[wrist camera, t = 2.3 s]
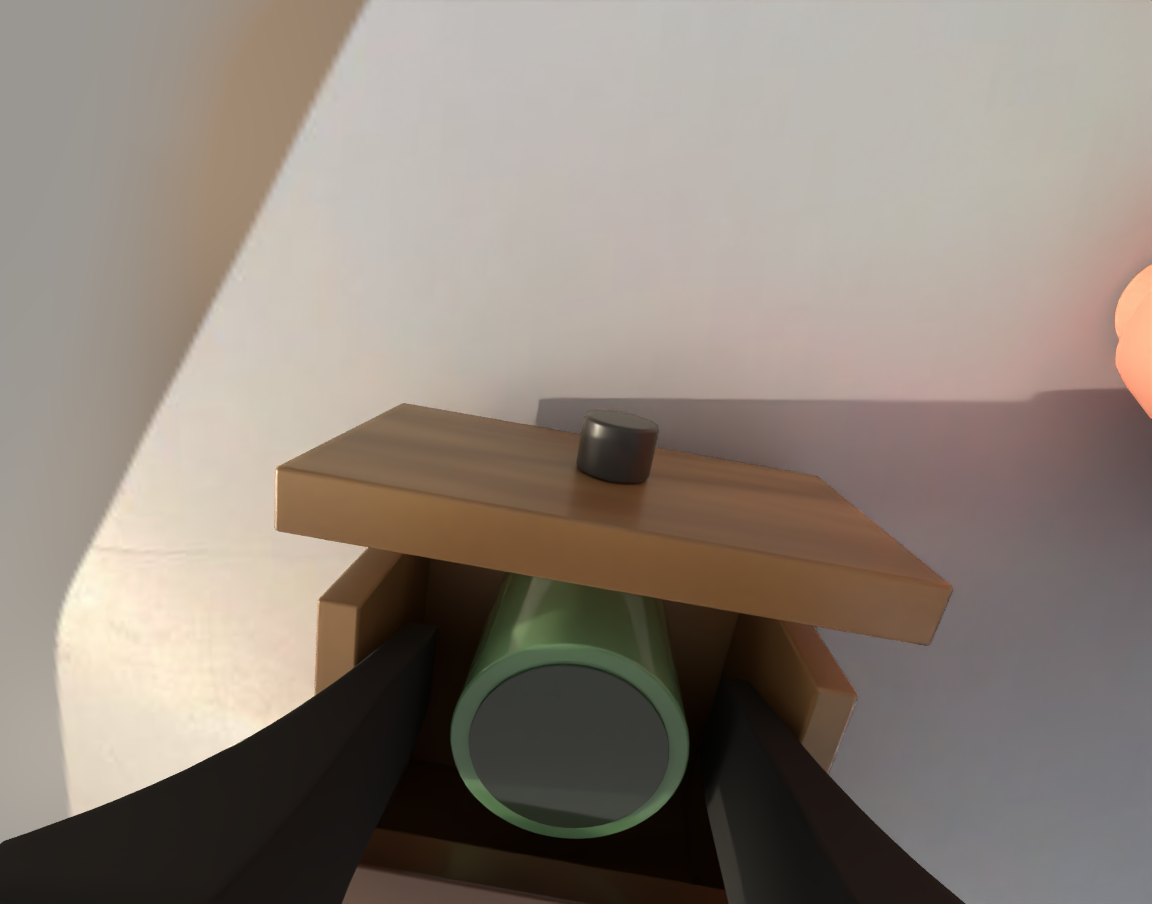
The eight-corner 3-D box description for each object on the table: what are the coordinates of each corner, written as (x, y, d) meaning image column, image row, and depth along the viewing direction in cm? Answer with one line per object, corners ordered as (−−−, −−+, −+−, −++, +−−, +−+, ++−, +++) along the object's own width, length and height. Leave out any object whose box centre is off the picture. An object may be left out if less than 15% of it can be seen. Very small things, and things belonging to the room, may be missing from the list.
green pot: (680, 551, 14) (717, 671, 9) (644, 695, 15) (662, 861, 11) (507, 521, 14) (461, 626, 9) (486, 667, 15) (437, 821, 11)
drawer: (405, 357, 14) (273, 395, 8) (832, 432, 14) (985, 520, 8) (375, 741, 17) (269, 947, 12) (716, 801, 17) (769, 1036, 12)
